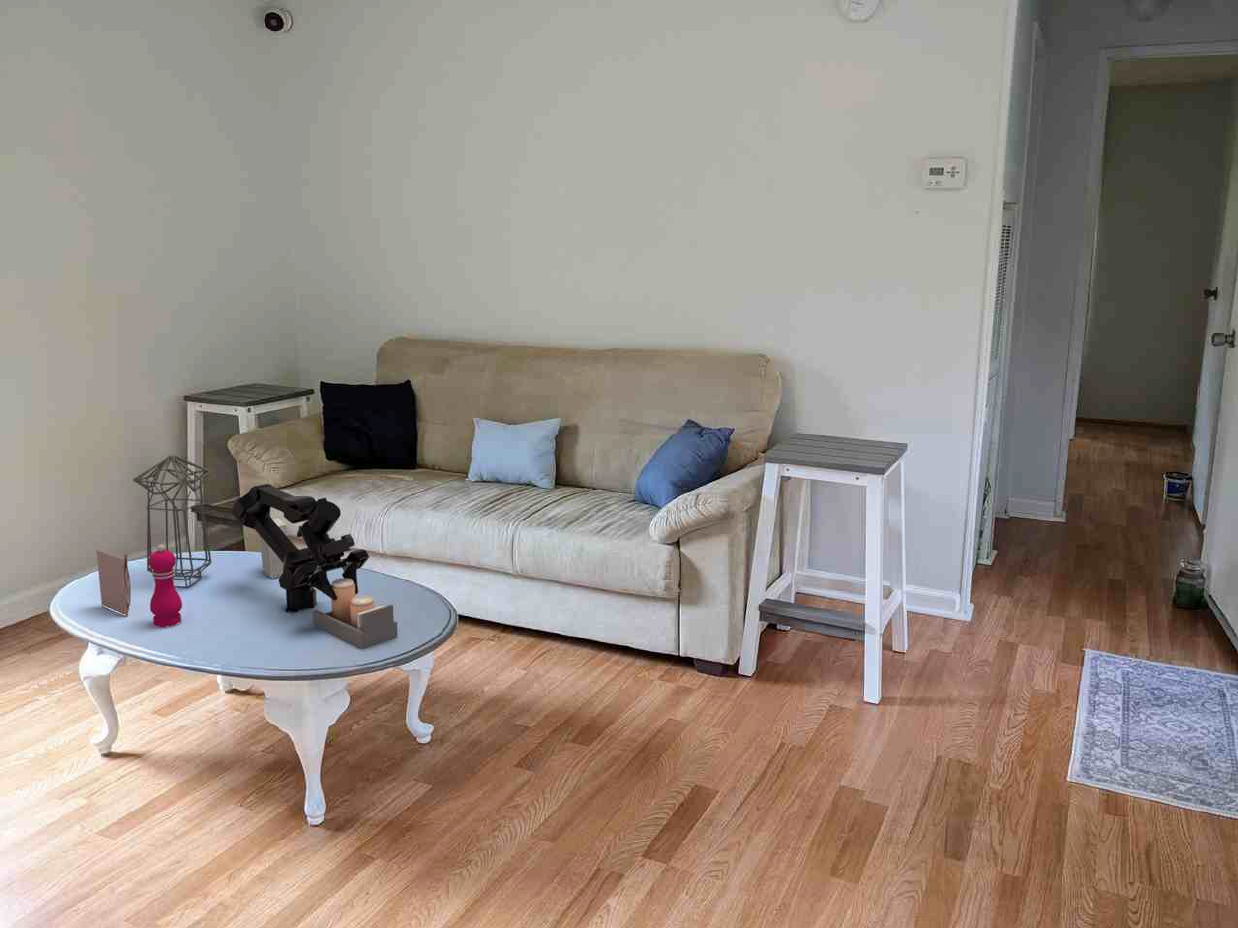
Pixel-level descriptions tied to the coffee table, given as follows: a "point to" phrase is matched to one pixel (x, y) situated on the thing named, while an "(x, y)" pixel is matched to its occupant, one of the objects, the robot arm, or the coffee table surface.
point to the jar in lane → (360, 607)
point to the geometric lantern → (160, 467)
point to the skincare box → (272, 555)
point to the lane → (374, 627)
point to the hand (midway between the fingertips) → (346, 596)
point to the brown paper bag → (114, 582)
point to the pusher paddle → (360, 618)
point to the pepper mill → (164, 589)
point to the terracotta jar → (342, 599)
